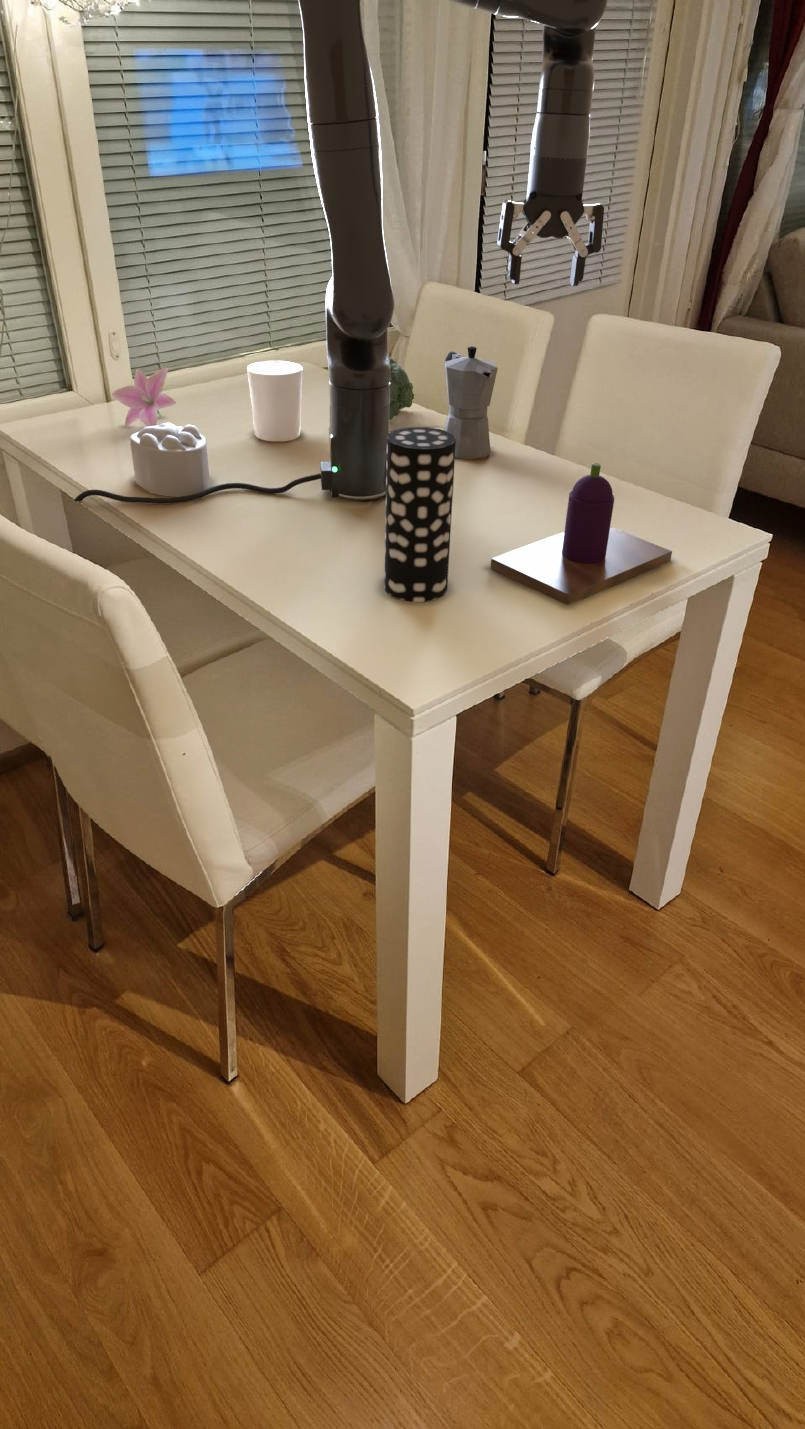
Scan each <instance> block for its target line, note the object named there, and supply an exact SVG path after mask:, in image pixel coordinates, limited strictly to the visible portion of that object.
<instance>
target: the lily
mask: <svg viewBox="0 0 805 1429" xmlns="http://www.w3.org/2000/svg"><path fill="white" fill-rule="evenodd" d="M168 371H169V368H168V367H166V366H165V367H162V368H159V369H158V370H156V371H155V372H153V373H152V374H151V375H149V377H147V375H146V374H145V373H144V372H143V370H141V369H140V368H139V367H137V368H136V370H135V374H134V381H133V382H134V384H133V385H128V386H127V385H126V386H123V387H120V388H118V389H115V390H113V392H111V396H112V397H113V398H114V399H115V400H116V401H118V402H120V404H123V405H124V406H125V407H127V408H128V411H127V414H126V417H125V420H124V427H128V426H130V425H132V424H133V423H135V422H136V421H138V420H140V421H141V422H142V424H143V425H144V426H145V427H149V426H157V421H158V416H159V418H160V419H162V415H161V412H160V411H159V410H161V409H165V408H168V407H171V406H174V405H176V404H177V402H176V401H175V399H173V398H172V397H171V396H169V395H168V394H166V393H165V392H163V388H164V385H165V383H166V382H165V381H166V378H167V376H168Z"/></svg>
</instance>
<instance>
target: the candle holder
mask: <svg viewBox="0 0 805 1429" xmlns="http://www.w3.org/2000/svg"><path fill="white" fill-rule="evenodd" d="M303 371H304V368H303V366H302V365H301V364H299V363H297V362H293V361H286V360H262V361H257V362H253V363H250V364H249V365H247V367H246V372H247V377H248V379H247V380H248V386H249V397H250V405H251V413H252V422H253V430H254V431H253V432H254V435H255V437H256V438H257V439H260V440H262V441H267V442H275V443H278V442H289V441H292V440H296V439H298V438H299V437H300V436H301V431H302V430H301V428H302V400H303V398H302V396H303V395H302V394H303Z"/></svg>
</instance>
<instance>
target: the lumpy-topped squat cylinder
mask: <svg viewBox="0 0 805 1429" xmlns="http://www.w3.org/2000/svg"><path fill="white" fill-rule="evenodd" d="M129 442H130V450H131V458H132V467H133V472H134V481H135V484H137V485H138V486H139V487H140V488H142V489H143V490H145V491H148V492H150V493H152V494H155V495H159V496H165V497H171V498H172V497H182V496H188V495H192V494H195V493H198V492H201V491H203V490H206V489H208V488H211V480H210V479H211V478H210V468H209V455H208V445H207V444H208V443H207V439H206V437H205V436H204V435H203V434H201V433H200V431H199V429H198V427H197V426H195V425H192V424H185V425H184V426H178V425H175V424H174V423H171V422H164V423H160V424H156V426H149V427H146V426H145V427H142V429H140V430H139V431H138V432H134V433H131V435H130V437H129Z"/></svg>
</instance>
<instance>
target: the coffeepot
mask: <svg viewBox="0 0 805 1429" xmlns="http://www.w3.org/2000/svg"><path fill="white" fill-rule="evenodd" d="M477 349H478V347H477V346H473V345H471V346H467V356H464V355H462V354H460V353H457V352H456V351H453V350H451V351H449V352H448V354H447V355H446V356H445V359H444V368H445V369H444V370H445V380H446V391H447V403H448V405H449V406H448V407H449V410H448V413H447V416H446V420H445V425H444V429H443V430H444V431H447V432H449V433H451V434H453V435H454V436H455V438H456V445H455V459H460V460H477V459H482V458H485V457H488V456H489V455H490V454H491V453H492V452H491V440H490V427H489V417H488V408H489V407H490V405H491V401H492V397H493V391H494V388H495V383H496V378H497V374H498V365H497V364H496V362H495V361H491V360H486V359H483V358H478V357H476V353H477Z"/></svg>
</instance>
